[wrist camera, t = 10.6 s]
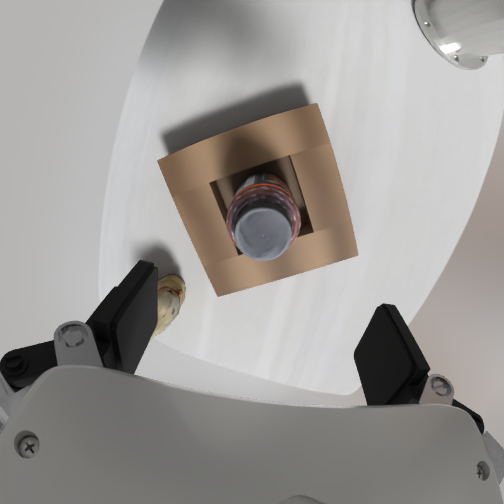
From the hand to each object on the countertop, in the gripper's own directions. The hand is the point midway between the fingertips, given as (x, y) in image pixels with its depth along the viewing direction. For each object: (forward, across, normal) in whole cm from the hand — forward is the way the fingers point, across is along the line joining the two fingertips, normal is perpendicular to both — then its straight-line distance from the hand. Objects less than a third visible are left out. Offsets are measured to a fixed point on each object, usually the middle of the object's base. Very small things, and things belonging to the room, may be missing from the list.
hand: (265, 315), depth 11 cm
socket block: (+21, 0, 0) cm, 21 cm away
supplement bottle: (+20, 0, 0) cm, 20 cm away
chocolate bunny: (+21, +10, +15) cm, 28 cm away
